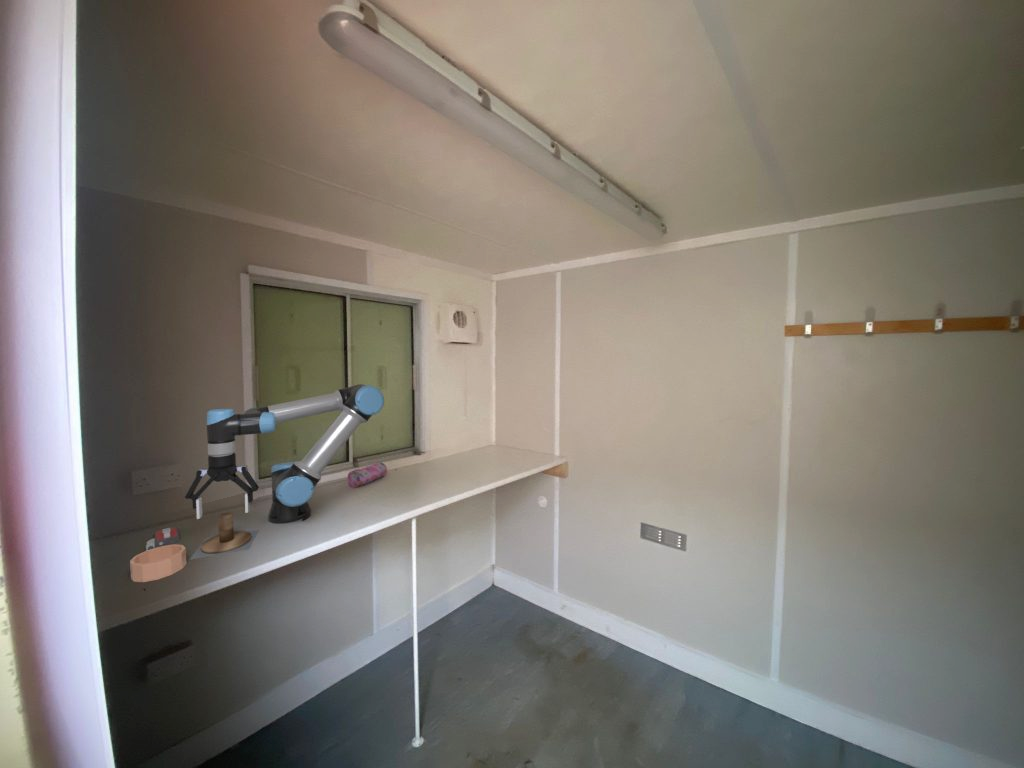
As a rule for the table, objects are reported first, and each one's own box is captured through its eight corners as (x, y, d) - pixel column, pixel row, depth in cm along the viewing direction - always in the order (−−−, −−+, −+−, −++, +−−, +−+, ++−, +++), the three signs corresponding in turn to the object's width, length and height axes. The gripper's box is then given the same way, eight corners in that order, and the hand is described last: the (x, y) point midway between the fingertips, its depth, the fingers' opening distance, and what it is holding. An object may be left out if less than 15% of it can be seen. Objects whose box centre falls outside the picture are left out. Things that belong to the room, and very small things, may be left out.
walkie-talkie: (146, 540, 136) (146, 561, 122) (145, 528, 136) (145, 548, 122) (178, 532, 143) (182, 551, 128) (177, 521, 142) (181, 539, 128)
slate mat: (259, 532, 142) (258, 529, 142) (249, 552, 127) (248, 549, 127) (206, 540, 135) (206, 537, 135) (189, 562, 121) (189, 559, 121)
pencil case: (357, 490, 188) (357, 472, 187) (344, 487, 192) (344, 470, 191) (388, 477, 207) (388, 461, 207) (376, 475, 211) (376, 459, 211)
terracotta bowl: (191, 559, 123) (190, 541, 122) (176, 579, 112) (175, 559, 111) (143, 567, 118) (142, 549, 117) (123, 589, 107) (121, 568, 106)
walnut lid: (255, 531, 140) (253, 504, 140) (246, 548, 128) (244, 519, 127) (208, 538, 135) (207, 510, 134) (194, 557, 122) (192, 526, 121)
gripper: (266, 448, 138) (268, 505, 139) (180, 454, 127) (182, 515, 129) (262, 453, 131) (264, 512, 132) (170, 460, 121) (173, 524, 122)
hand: (224, 514), depth 130 cm, fingers open, 13 cm apart
